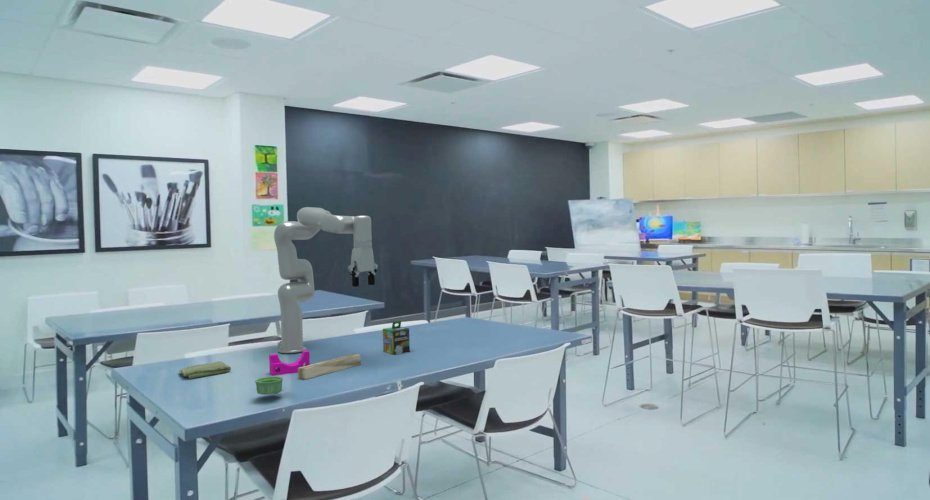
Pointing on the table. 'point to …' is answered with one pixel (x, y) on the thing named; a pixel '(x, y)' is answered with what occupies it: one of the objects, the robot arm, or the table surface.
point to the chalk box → (396, 339)
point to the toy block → (283, 368)
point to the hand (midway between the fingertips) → (363, 285)
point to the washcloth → (205, 369)
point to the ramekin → (269, 385)
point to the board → (328, 366)
